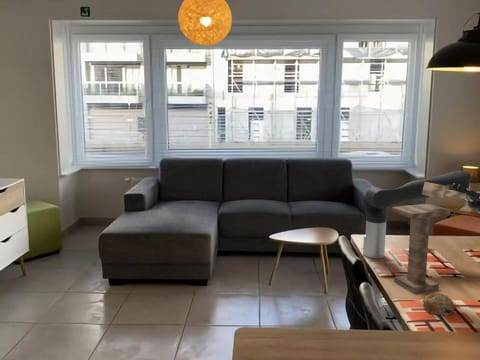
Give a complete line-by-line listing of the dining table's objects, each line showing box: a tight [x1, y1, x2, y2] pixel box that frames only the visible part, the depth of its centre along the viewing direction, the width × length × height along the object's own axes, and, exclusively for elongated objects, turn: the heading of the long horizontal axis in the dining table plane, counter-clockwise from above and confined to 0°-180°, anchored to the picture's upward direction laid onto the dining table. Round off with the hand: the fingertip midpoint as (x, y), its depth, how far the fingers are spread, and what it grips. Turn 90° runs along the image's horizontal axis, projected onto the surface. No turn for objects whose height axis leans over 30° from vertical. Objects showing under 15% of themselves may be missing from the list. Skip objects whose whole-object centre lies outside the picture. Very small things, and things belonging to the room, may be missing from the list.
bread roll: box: [421, 292, 455, 316], centre depth 169 cm, size 10×10×8 cm
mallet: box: [422, 182, 470, 200], centre depth 190 cm, size 24×5×5 cm, turn 109°
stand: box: [391, 203, 451, 294], centre depth 189 cm, size 18×12×32 cm, turn 109°
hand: (455, 186), depth 190 cm, fingers closed on mallet, 2 cm apart
